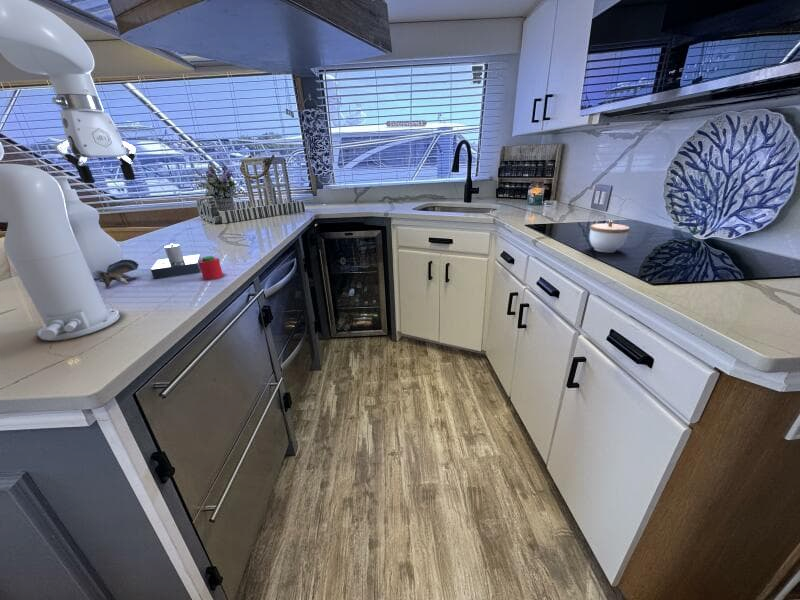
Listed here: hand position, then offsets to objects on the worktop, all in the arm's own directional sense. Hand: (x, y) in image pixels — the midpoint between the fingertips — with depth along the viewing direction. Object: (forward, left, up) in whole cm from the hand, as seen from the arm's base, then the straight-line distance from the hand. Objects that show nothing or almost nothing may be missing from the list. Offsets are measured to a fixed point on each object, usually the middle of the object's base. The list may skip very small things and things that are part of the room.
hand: (111, 181), depth 84 cm
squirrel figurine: (+1, +7, -28) cm, 28 cm away
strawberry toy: (-8, -17, -28) cm, 34 cm away
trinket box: (-52, -133, -28) cm, 146 cm away
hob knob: (+6, -7, -25) cm, 26 cm away
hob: (+6, -7, -28) cm, 29 cm away
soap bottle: (+15, +15, -28) cm, 35 cm away
